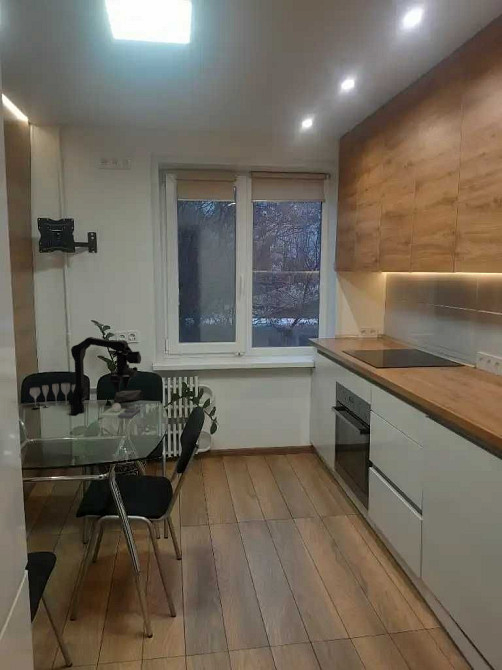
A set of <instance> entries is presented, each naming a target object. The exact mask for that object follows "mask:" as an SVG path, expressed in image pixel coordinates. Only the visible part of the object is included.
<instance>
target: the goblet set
mask: <svg viewBox="0 0 502 670" xmlns="http://www.w3.org/2000/svg"><path fill="white" fill-rule="evenodd" d="M51 388H52V392H53V395H54V398H55V399H57V396H58V395H59V394H58V393H59V390H60V389H61V391H62V393H63V394H64V396H65V405H67V404H68V402H67V396H68V394H69V392H70V391H72V392H73V391H74V388H75V383H72V384H70V382H62V383H61V385H60V387H59V383H52V387H51ZM41 390H42V394H43V397H44V400H45V401H47V398H48V397H47V396H48V393H49V390H50V388H49V384H42V386H41V389H40V387H39V386H33V387H30V389H29V395H30V396H31V397H33V399H34V405H35V406H36V407H37V398H38V397H39V396H40V394H41ZM55 405H58V403H57V401H55ZM35 406H34V407H35Z"/></svg>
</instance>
